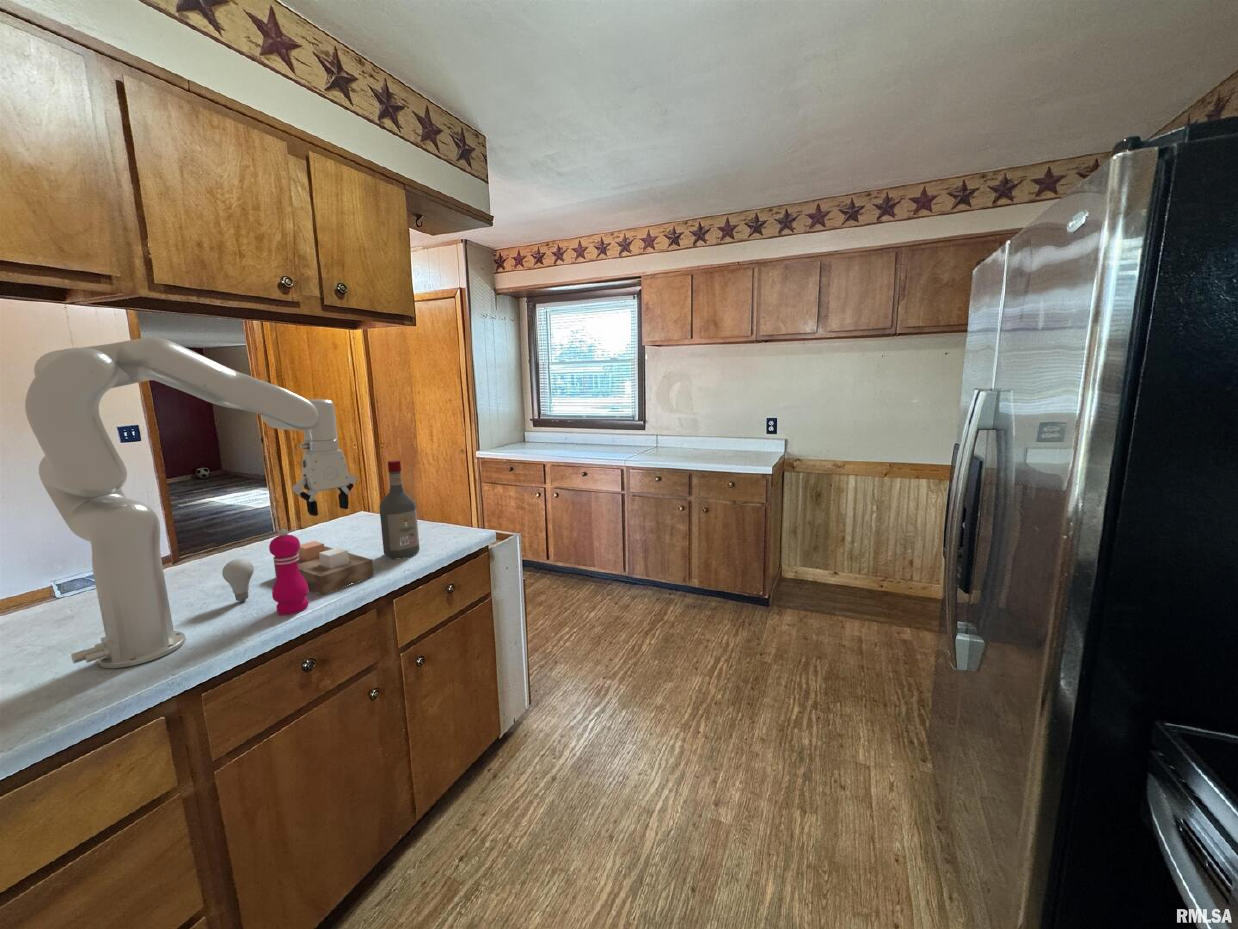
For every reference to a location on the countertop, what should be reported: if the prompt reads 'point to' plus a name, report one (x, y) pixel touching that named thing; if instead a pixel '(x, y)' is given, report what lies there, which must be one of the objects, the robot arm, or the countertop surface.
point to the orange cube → (310, 550)
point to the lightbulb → (238, 577)
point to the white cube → (334, 558)
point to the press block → (334, 573)
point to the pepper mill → (288, 575)
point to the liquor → (398, 518)
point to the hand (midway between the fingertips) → (329, 511)
